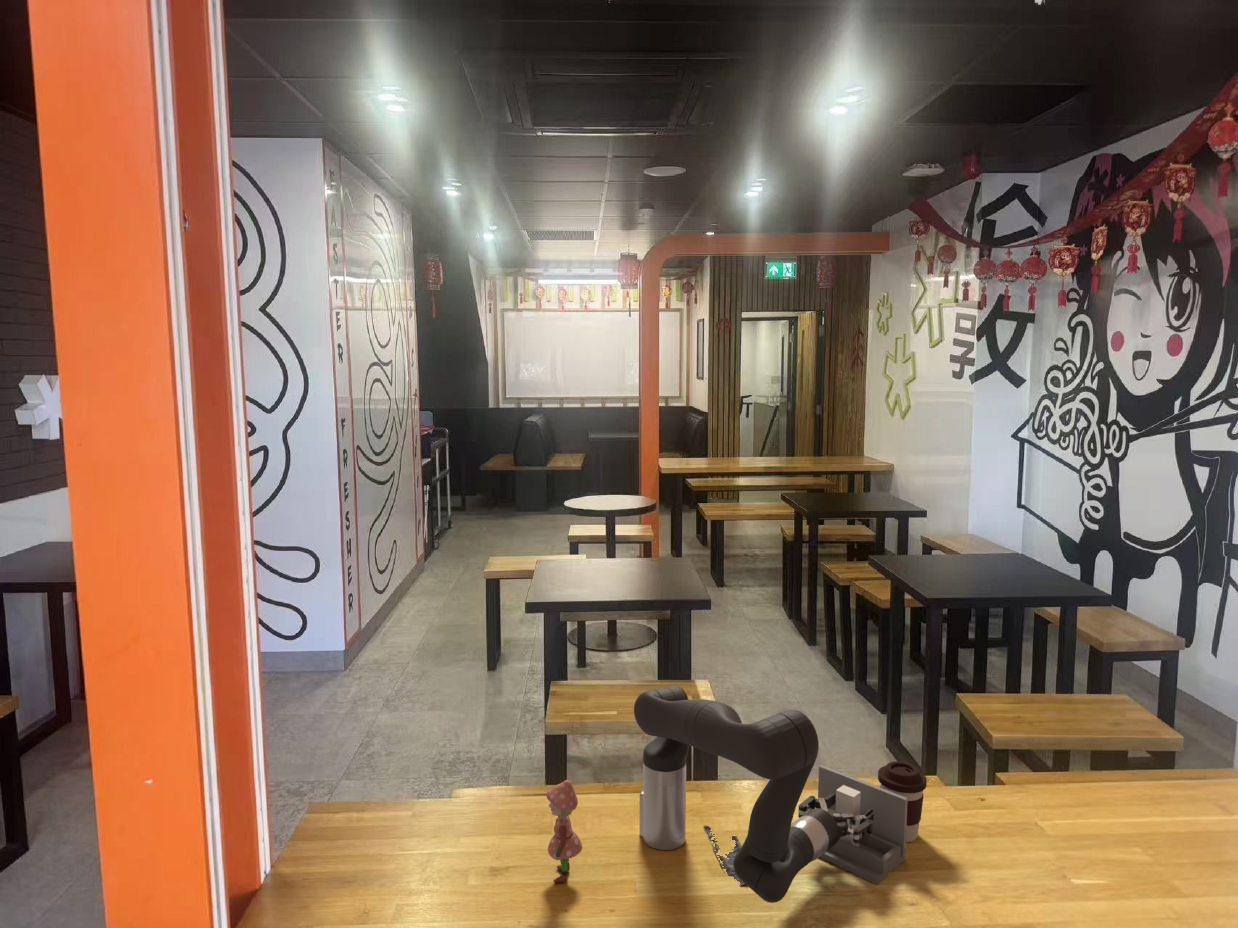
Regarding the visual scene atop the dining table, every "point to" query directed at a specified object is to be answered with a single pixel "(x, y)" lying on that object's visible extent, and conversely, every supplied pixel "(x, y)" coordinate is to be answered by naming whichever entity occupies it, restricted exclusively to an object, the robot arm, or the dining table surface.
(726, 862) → the driftwood
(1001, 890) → the dining table surface
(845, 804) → the clay bar
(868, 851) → the grey desk organizer
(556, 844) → the cartoon character
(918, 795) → the coffee cup
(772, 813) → the robot arm
